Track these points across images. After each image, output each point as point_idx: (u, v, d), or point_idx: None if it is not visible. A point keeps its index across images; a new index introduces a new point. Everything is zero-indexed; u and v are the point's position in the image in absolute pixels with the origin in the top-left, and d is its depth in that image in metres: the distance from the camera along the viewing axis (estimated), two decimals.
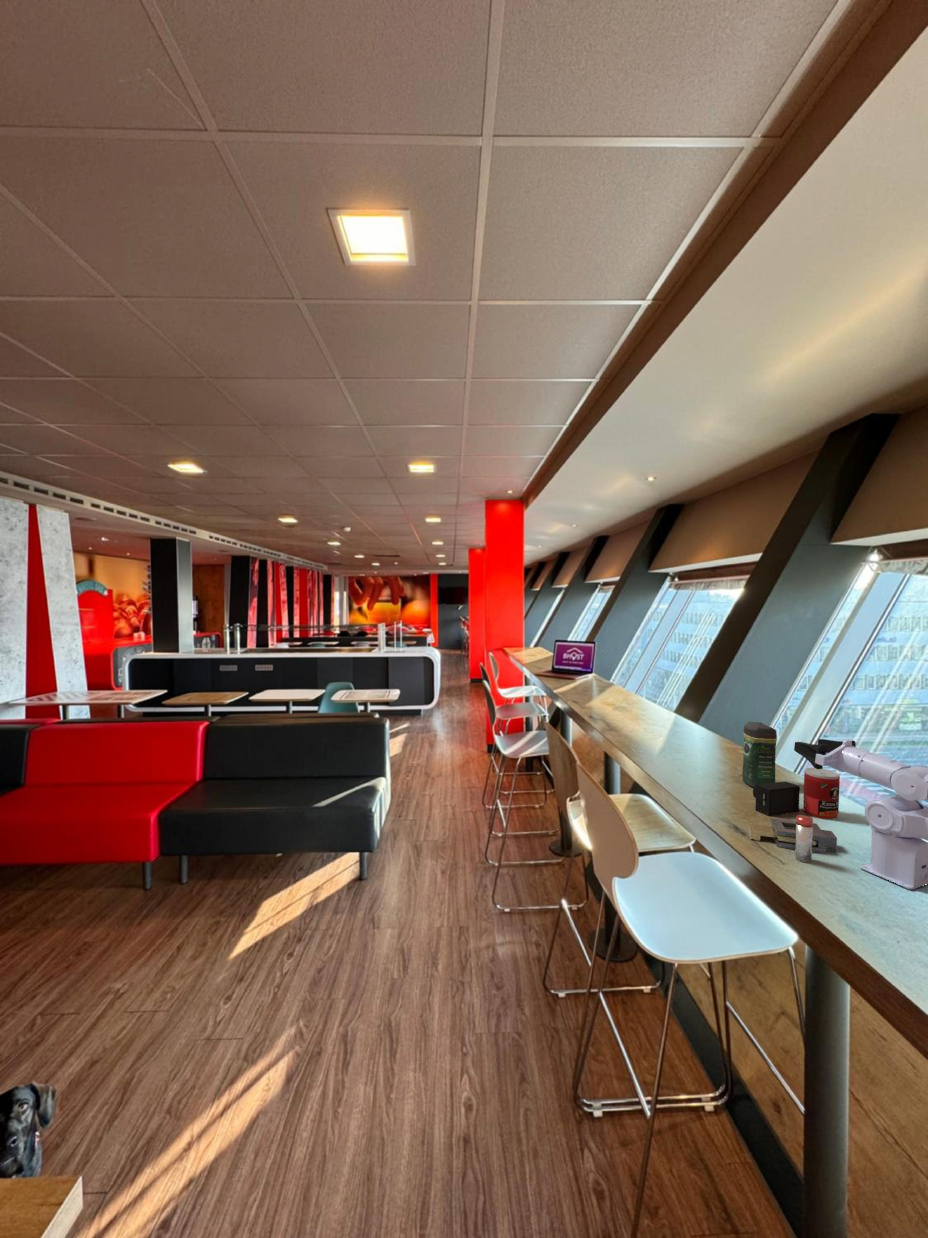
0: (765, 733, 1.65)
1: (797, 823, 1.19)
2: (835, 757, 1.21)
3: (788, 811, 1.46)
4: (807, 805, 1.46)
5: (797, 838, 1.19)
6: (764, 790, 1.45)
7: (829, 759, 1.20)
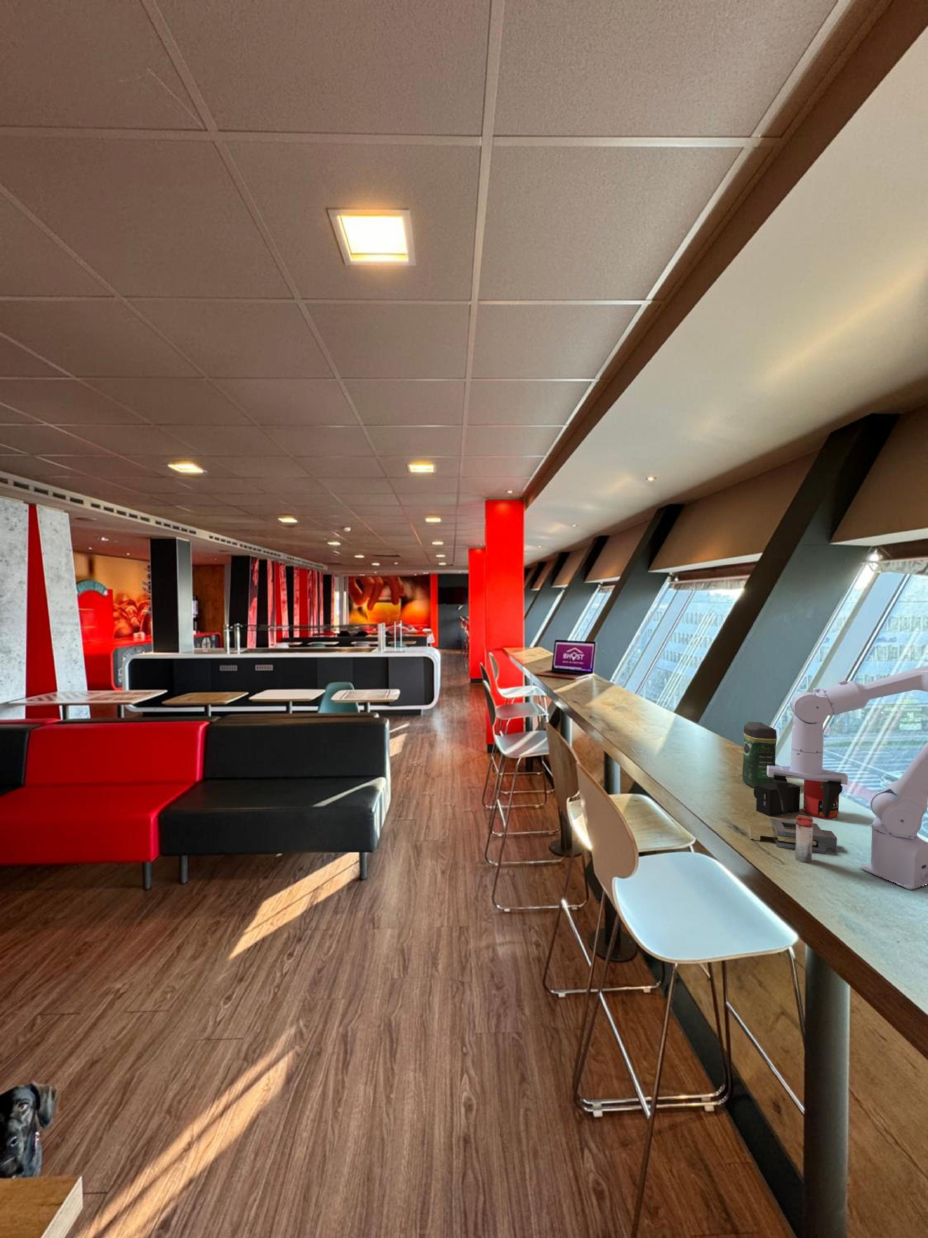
0: (765, 733, 1.65)
1: (797, 823, 1.19)
2: None
3: (789, 811, 1.46)
4: (807, 805, 1.46)
5: (797, 838, 1.19)
6: (765, 790, 1.45)
7: None
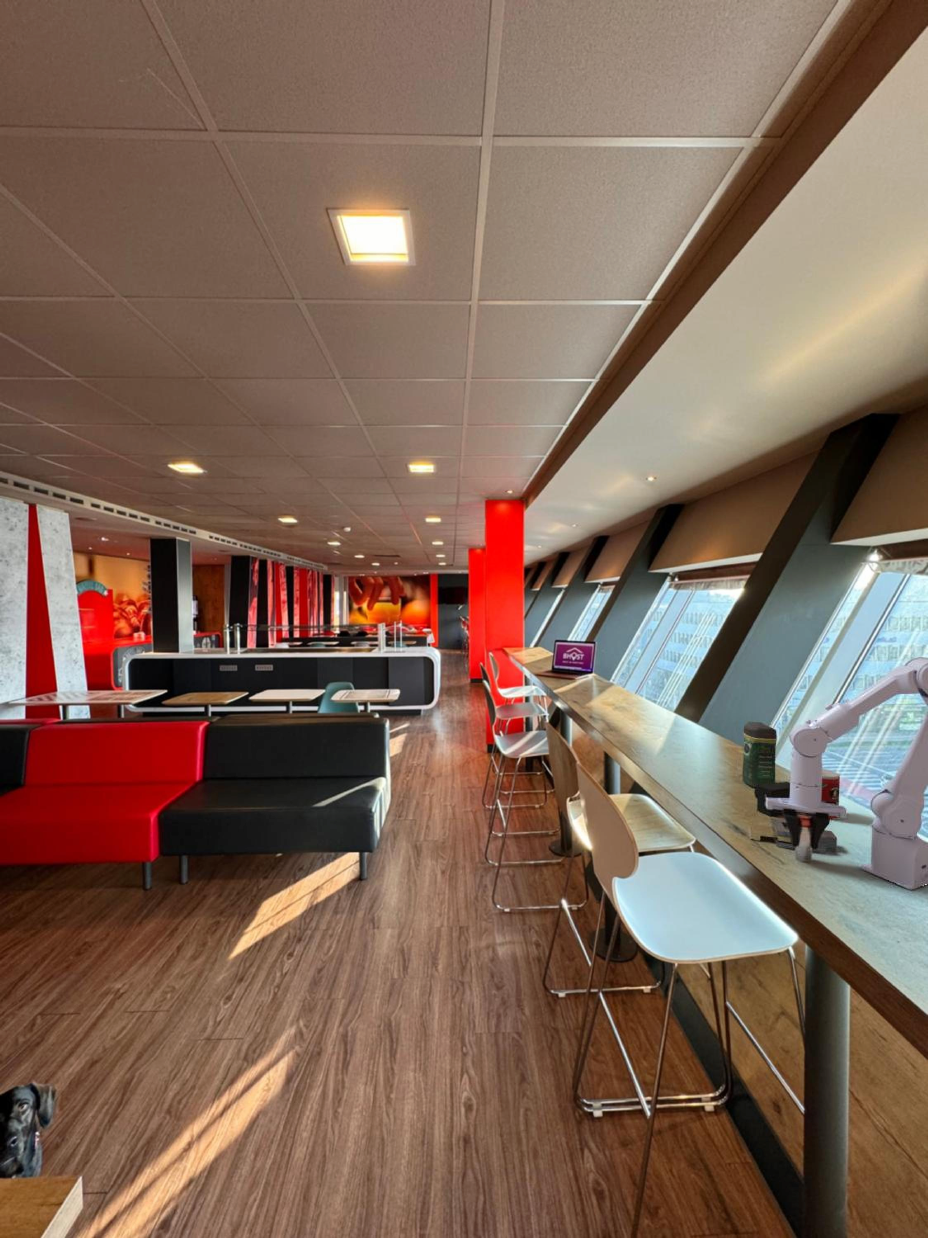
0: (765, 733, 1.65)
1: None
2: None
3: None
4: None
5: (797, 838, 1.19)
6: (766, 790, 1.45)
7: None
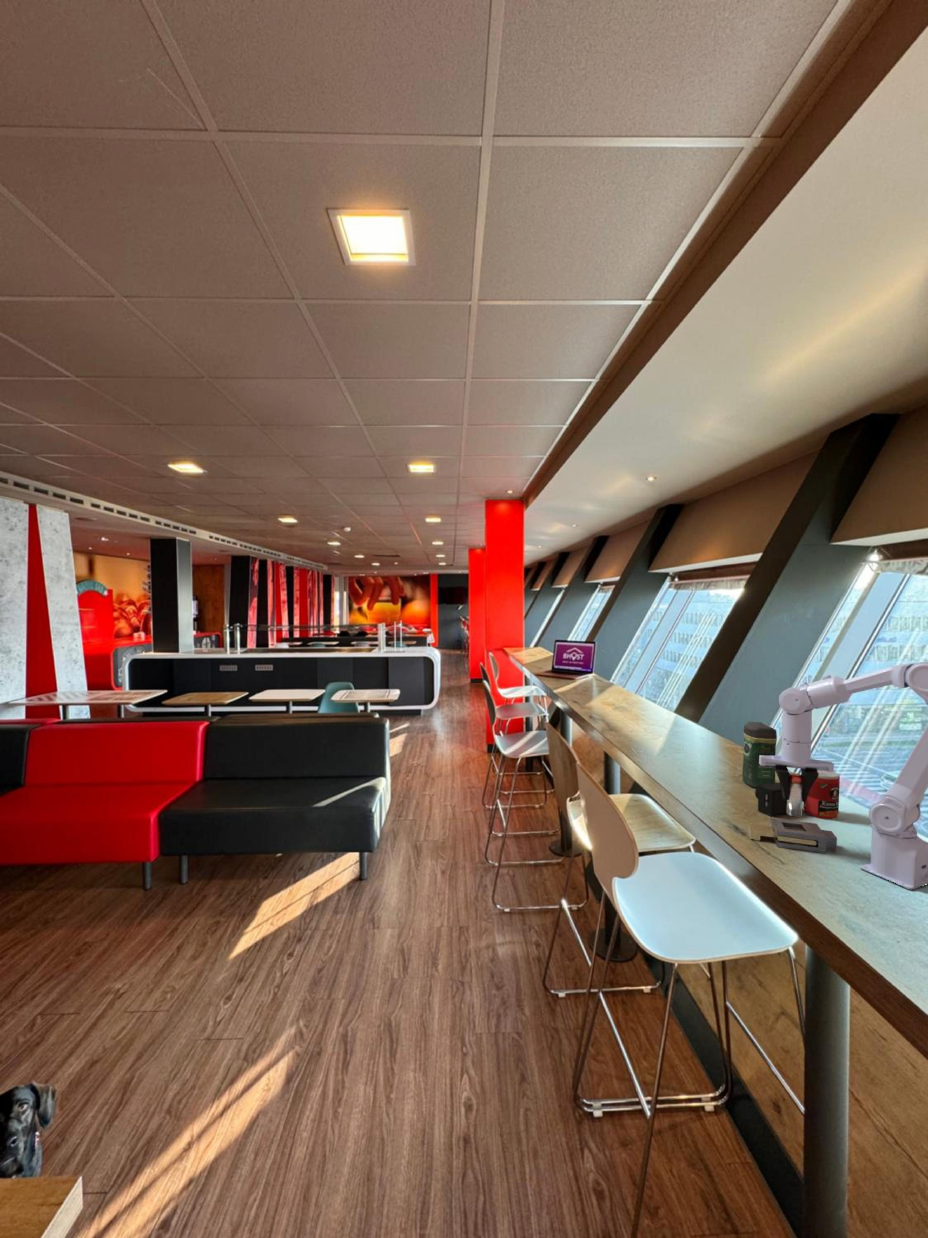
0: (765, 733, 1.65)
1: None
2: None
3: None
4: (807, 805, 1.46)
5: (788, 794, 1.28)
6: (767, 791, 1.45)
7: None
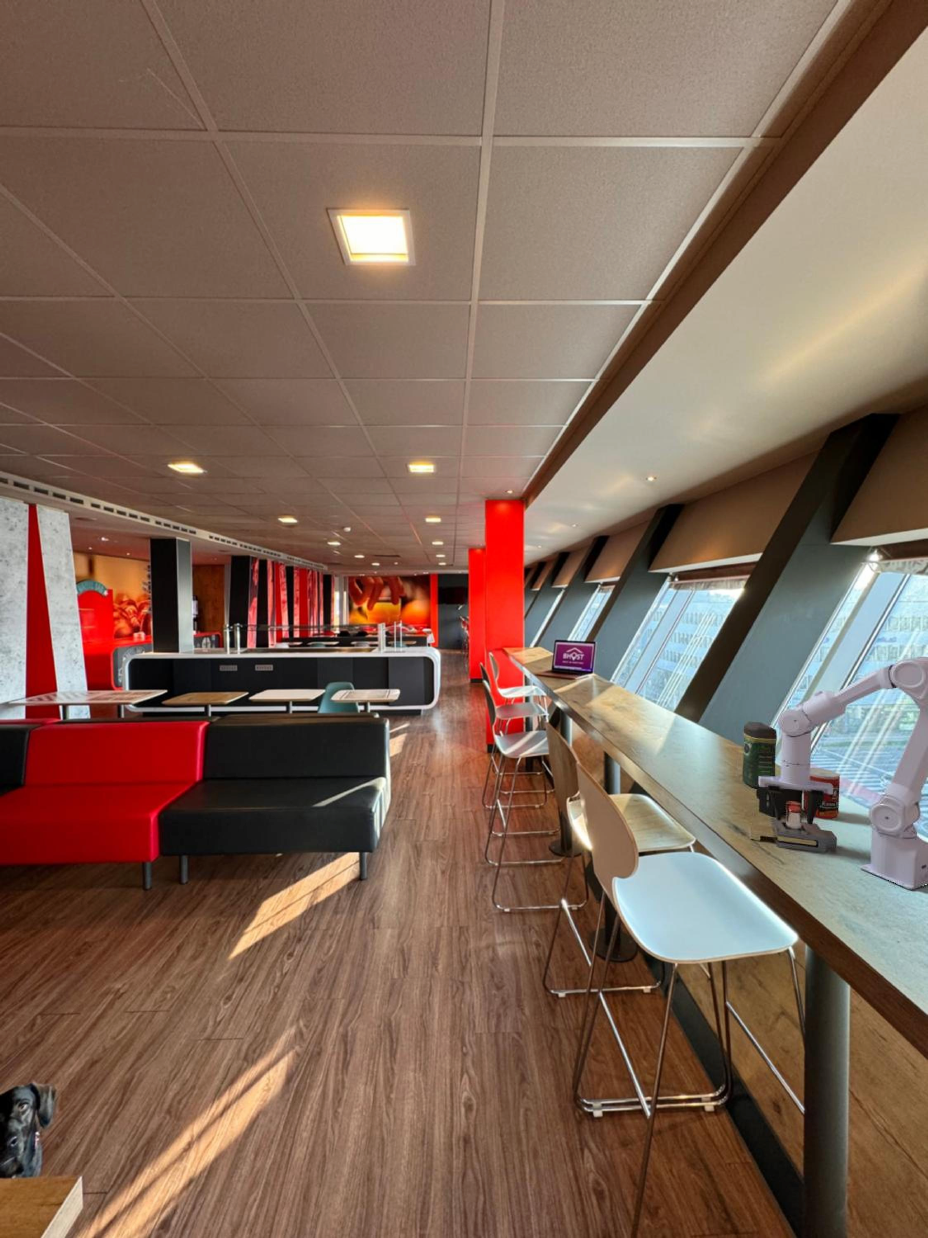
0: (765, 733, 1.65)
1: (787, 809, 1.27)
2: None
3: None
4: None
5: (787, 823, 1.28)
6: (768, 791, 1.45)
7: None
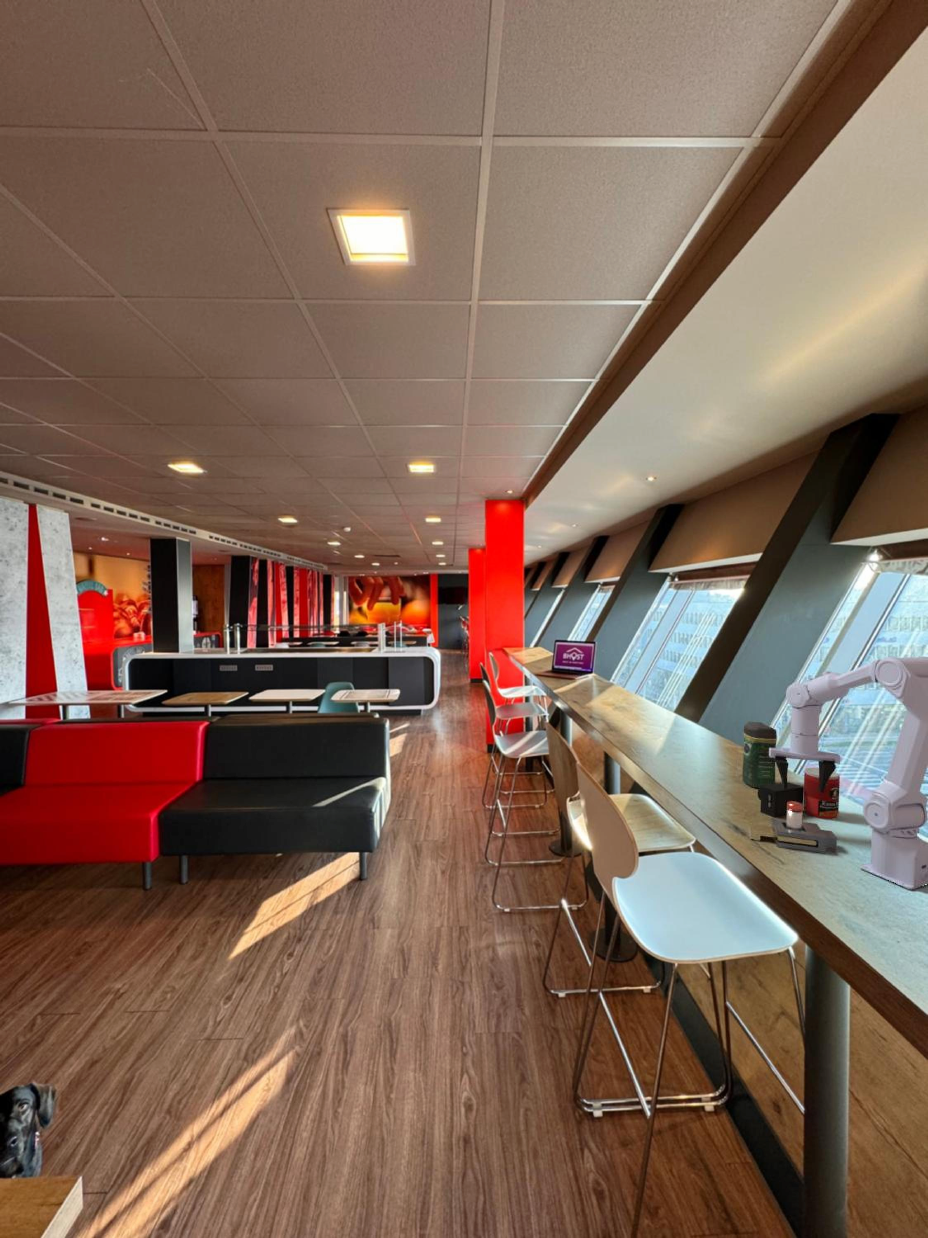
0: (765, 733, 1.65)
1: (788, 809, 1.28)
2: None
3: None
4: (807, 805, 1.46)
5: (788, 822, 1.28)
6: (769, 791, 1.44)
7: None
